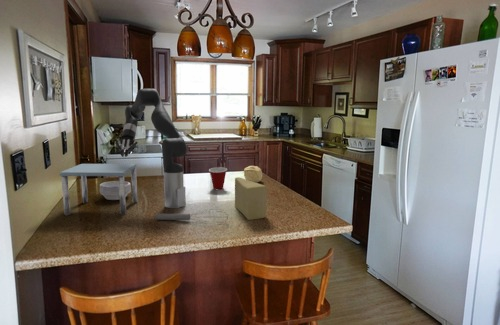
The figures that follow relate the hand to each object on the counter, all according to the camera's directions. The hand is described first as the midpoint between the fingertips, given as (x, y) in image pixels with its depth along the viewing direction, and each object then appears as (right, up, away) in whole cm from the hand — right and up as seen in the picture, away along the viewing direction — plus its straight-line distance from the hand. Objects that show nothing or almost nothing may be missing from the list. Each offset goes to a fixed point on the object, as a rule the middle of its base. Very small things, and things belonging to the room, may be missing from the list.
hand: (123, 156), depth 194 cm
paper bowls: (+1, -23, -13) cm, 26 cm away
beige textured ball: (+74, -17, +29) cm, 81 cm away
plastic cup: (+53, -19, +9) cm, 57 cm away
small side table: (+2, -25, -31) cm, 40 cm away
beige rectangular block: (+70, -27, -34) cm, 82 cm away
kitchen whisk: (+46, -29, -48) cm, 73 cm away
